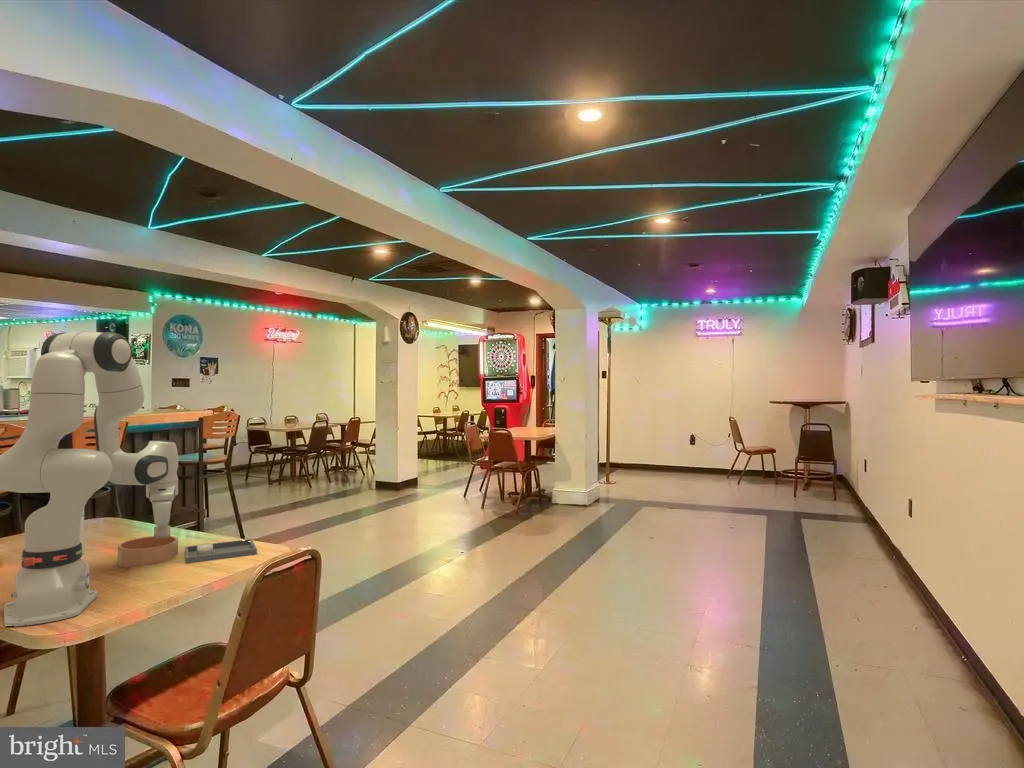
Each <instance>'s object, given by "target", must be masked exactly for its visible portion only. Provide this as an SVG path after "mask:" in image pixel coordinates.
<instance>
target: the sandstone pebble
mask: <svg viewBox="0 0 1024 768" xmlns="http://www.w3.org/2000/svg"><path fill="white" fill-rule="evenodd" d="M153 536H154V538H156V539H162V538H167V537H170V536H171V525H170V524H168V525H166V529H165V536H159V530H158V526H156V525H155V526H154V527H153Z"/></svg>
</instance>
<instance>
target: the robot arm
mask: <svg viewBox="0 0 1024 768" xmlns="http://www.w3.org/2000/svg"><path fill="white" fill-rule="evenodd" d="M86 373H93V374H94V380H95V386H96V390H97V394H98V396H97V397H98V404H97V406H96V407H95V410H94V413H93V423H94V425H93V427H94V428H93V429H94V436H95V447H96V450H95V449H89V448H59V444H60V441H61V440H62V439H63V438H64V436H67V435H69V434H71V433H73V432H76V430H78V429H79V428H80V427H81V426H82V424H83V423H84V414H85V413H84V411H85V397H86V395H85V394H86V393H85V392H86V391H85V390H86V387H85V386H86V385H85V376H86ZM143 386H144V385H143V383H142V379H141V376H140V373H139V369H138V367H137V364H136V362H135V360H134V358H133V349H132V345H131V343H130V342H129V341H128V339H127V338H126V337H125V336H124V335H122V334H121V333H117V332H111V331H105V332H97V331H88V330H87V331H85V330H83V331H82V330H81V331H80V330H79V331H71V332H57V333H54V334H52V335H50V336H49V335H48V337H47V338H46V339H45V340H44V341H43V343H42V346H41V349H40V357H39V358H38V359H37V361H36V364H35V366H34V370H33V374H32V379H31V385H30V395H29V404H28V405H29V408H28V415H27V421H26V424H25V428H24V430H23V432H22V434H21V435H20V437H19V438H18V440H17V441H16V442H15V443H14V444H13V445H12V446H11V447H10V448H9V449H7V450H6V451H5V452H3V453H1V454H0V490H1V491H7V492H11V493H21V494H29V493H30V494H34V493H36V494H37V493H39V494H40V493H50V497H49V501H48V503H47V504H46V505H45V506H43V507H40V508H38V509H36V510H35V511H32V513H31V514H29V516H27V518H26V520H25V521H24V549H23V550H22V552H21V554H22V555H21V559H20V560H21V567H22V568H20V569H19V570H18V571H16V573H15V591H12V592H11V594H10V597H11V598H12V599H15V600H13V601H10V602H8V603H7V602H6V603H5V604H4V605H3V626H4V625H7V626H8V625H9V626H10V625H11V626H14V627H24V626H25V625H26V626H32V625H39V624H45V623H51V622H56V621H57V622H58V621H61V620H65V619H69V618H73V617H75V616H76V617H77V616H79V615H80V614H81V613H82V612H83V611H84V610H85V609H86V608H87V607H88V606H89V605H90V604H91V603H92V602H93V601H94V600H95V599H96V598H97V597H98V596H99V593H98V590H95V589H94V590H92V589H90V586H91V585H90V565H89V564H88V563H87V562H86V561H84V560H83V559H82V556H83V554H82V543H81V542H80V525H81V516H82V512H83V509H84V510H85V507H86V504H87V503H88V501H89V499H90V498H91V497H92V496H93V495H94V494H95V493H96V492H97V491H98V490H100V489H102V488H103V487H104V486H105V485H106V486H117V485H118V486H121V485H124V486H127V485H128V486H145V498H147V499H149V502H151V505H152V513H153V520H154V521H153V522H154V525H155V527H156V526H158V530H159V536H165V529H166V525H170V524H169V523H170V519H171V513H172V511H171V510H172V504H173V501H175V497H176V496H177V495H179V477H178V473H177V472H178V469H179V454H178V453H179V452H178V448H177V444H176V443H175V442H174V441H172V440H161V439H152V440H149V441H148V444H147V446H145V448H143V449H141V450H140V451H137V452H135V453H132V452H125V451H123V450H122V449H121V447H120V443H121V442H120V432H119V425H120V422H121V421H122V420H123V419H125V418H128V417H130V416H132V415H134V414H135V413H137V412H138V411H139V410H140V409H141V408H142V407H143V404H144V403H145V391H144V387H143Z"/></svg>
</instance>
